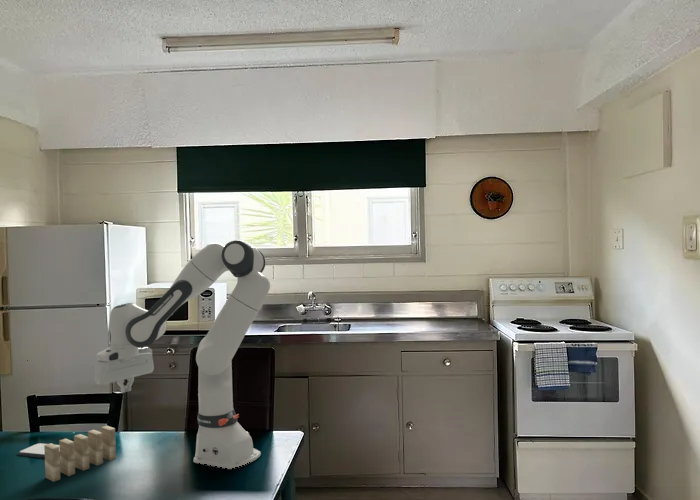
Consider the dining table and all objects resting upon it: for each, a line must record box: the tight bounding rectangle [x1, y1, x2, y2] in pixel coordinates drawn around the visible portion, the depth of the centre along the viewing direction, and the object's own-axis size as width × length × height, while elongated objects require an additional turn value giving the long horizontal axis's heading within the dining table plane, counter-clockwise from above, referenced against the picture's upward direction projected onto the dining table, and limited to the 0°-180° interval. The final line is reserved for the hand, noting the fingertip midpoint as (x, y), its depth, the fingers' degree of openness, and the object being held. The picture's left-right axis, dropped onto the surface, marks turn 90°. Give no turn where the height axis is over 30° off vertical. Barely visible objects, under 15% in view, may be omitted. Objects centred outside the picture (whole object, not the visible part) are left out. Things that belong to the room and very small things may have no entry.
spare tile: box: [44, 442, 61, 482], centre depth 163 cm, size 2×5×10 cm, turn 54°
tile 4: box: [58, 438, 76, 477], centre depth 166 cm, size 2×5×10 cm, turn 54°
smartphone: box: [18, 442, 60, 459], centre depth 184 cm, size 9×2×16 cm
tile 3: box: [73, 433, 90, 472], centre depth 170 cm, size 2×5×10 cm, turn 54°
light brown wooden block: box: [87, 429, 104, 466], centre depth 174 cm, size 2×5×10 cm, turn 54°
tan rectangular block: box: [100, 425, 117, 461], centre depth 177 cm, size 2×5×10 cm, turn 54°
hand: (125, 391), depth 183 cm, fingers closed
